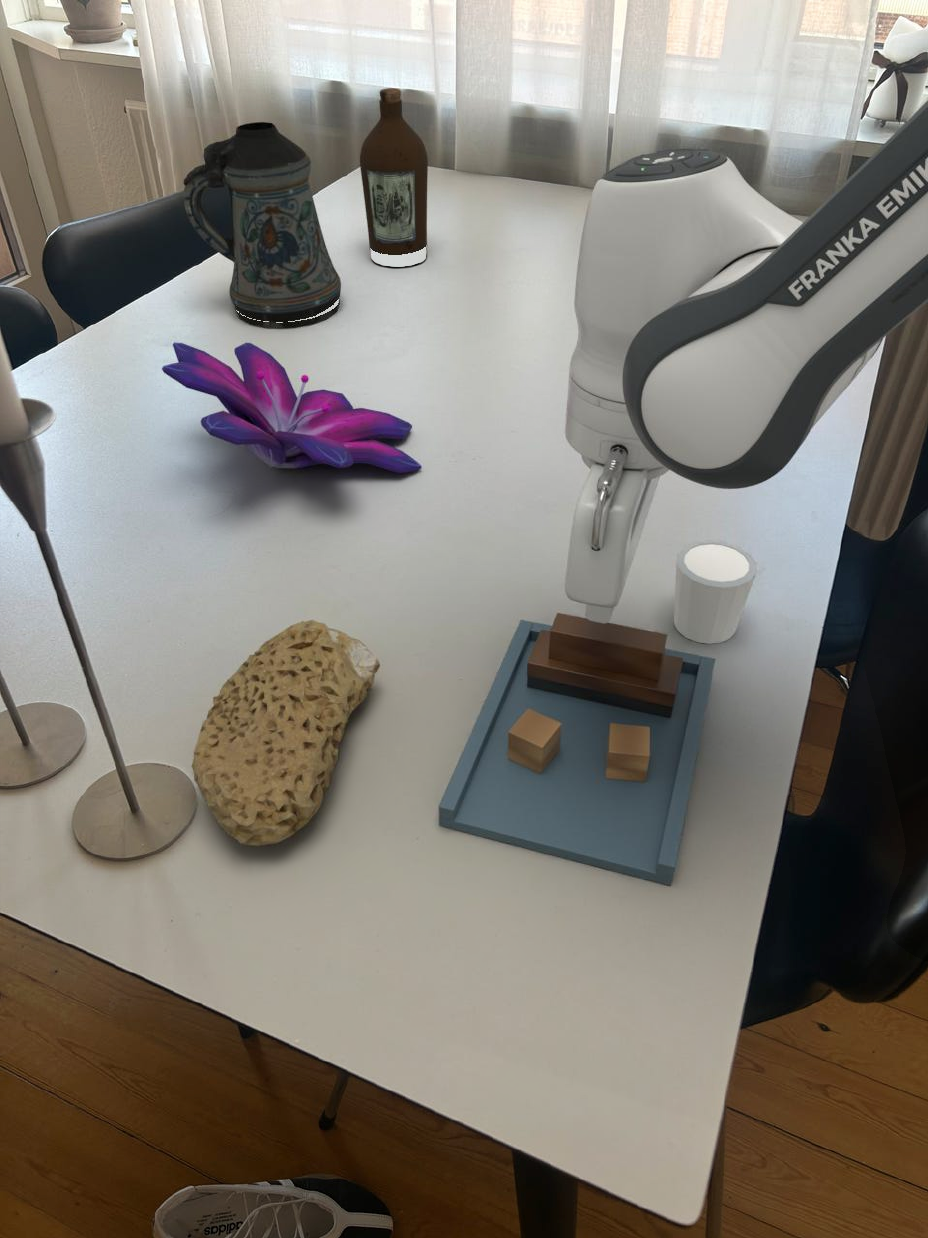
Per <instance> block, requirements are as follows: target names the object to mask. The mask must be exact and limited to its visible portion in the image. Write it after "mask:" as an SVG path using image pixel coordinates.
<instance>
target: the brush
mask: <svg viewBox="0 0 928 1238" xmlns="http://www.w3.org/2000/svg"><path fill="white" fill-rule="evenodd" d="M551 626H552V627H551V629H550V631H547V630H542V629H541V631H540V633H539V635H538V638H537V640H536V643H535V645H534V648H533V650H532V652H531V655H530V657H529V660H528V662H527V687H529V688H534V689H538V690H543V691H547V692H552V693H557V694H561V695H566V696H570V697H575V698H579V699H584V700H589V701H593V702H598V703H602V704H607V705H611V706H616V707H621V708H625V709H630V710H634V711H639V712H643V713H648V714H653V715H657V716H662V717H666V718H671V716H672V712H673V707H674V703H675V699H676V694H677V690H678V685H679V680H680V675H681V670H682V664H683V658H680V657H675V656H671V655H666V654H665V649H667V642H668V634H667V633H663V632H659V631H653V630H647V629H642V628H638V627H632V626H628V625H623V624H617V623H612V622H608V623H605V624H603V623H599V622H594V621H590V620H588V619H587V618H586V617H582V616H578V615H572V614H566V613H561V612H557V613H556V615H555V617H554V620H553V622H552V624H551Z"/></svg>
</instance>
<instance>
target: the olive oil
mask: <svg viewBox="0 0 928 1238" xmlns="http://www.w3.org/2000/svg"><path fill="white" fill-rule="evenodd" d="M379 97H380V100H379V114H380V117H379V119H378V122H376V124H375V125H374V127H373V128H372V129H371V130H370V132H369V133H368V135H367V136H366V137H365V139H364V140H363V142H362V144H361V147H360V148H361V150H360V152H359V153H360V154H359V167H360V168H359V169H360V176H361V183H362V184H361V185H362V191H363V192H362V193H363V199H364V200H363V201H364V207H365V217H366V225H367V234H368V244H369V249H370V248H371V249H372V250H373V251H375V252H378V253H380V254H381V253H382V254H388V255H402V254H408V253H413V252H416V251H419V250H421V249H423V248H424V247H426V245H427V246H428V177H429V176H428V171H429V169H428V168H429V160H428V153H427V149H426V146H425V143H424V141H423V139H422V138H421V136H419V134H418V133H417V132H416V131H415V130H414V129H413V128H412V127H411V126H410V124H408V123H407V121H406V120H405V118H404V117H403V100H402V99H401V97H402V93H401V89H399V88H392V87H390V88H382V89H381V90H379Z"/></svg>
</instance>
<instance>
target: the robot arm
mask: <svg viewBox="0 0 928 1238" xmlns="http://www.w3.org/2000/svg"><path fill="white" fill-rule="evenodd" d="M927 303H928V96H927V97H926V98H925V100H924V101H923V102H922V103H921V104H920V106H919V107H917V109H916V110H915V111H914V112H913V113H912V115H911V116H910V117H909V118H908V119H907V120H906V121H905V122H904V123H903V124H902V125H901V126H900V127H899V128H898V129H897V130H896V131H895V133H894V134H892V136H890V138H888V139H887V140H886V142H884V143H883V144H882V145H881V146H880V147H879V148H878V149H877V150H876V151H875V152H874V153H873V154H872V155H870V157H869V158H868V159H867V160H866V161H865V162H864V163H863V164H862V165H861V166H860V167H859V168H858V169H857V170H856V171H854V173H853V174H851V176H849V177H848V178H847V179H846V180H845V181H844V182H843V183H842V184H841V185H840V186H839V187H838V188H837V189H836V190H835V191H834V192H833V193H832V194H831V195H830V196H829V197H828V198H827V199H826V200H824V202H823V203H822V204H821V205H820V206H819V207H818V208H817V209H816V210H814V211H813V212H812V214H811V215H810V216H808V217H807V218H806V219H805V220H804V221H802V220H799V219H798V218H795V217H794V216H792V215H790V214H789V213H788V212H786V211H784V210H782V209H780V207H777V206H776V205H774V204H773V203H772V202H770V201H769V200H768V199H766V198H765V197H764V196H762V195H761V194H760V193H759V192H757V191H756V189H754V188H753V187H752V186H751V185H750V184H749V183H748V182H747V181H746V180H745V179H744V177H743V175H742V174H741V173H740V171H739V170H738V168H737V166H736V165H735V163H734V162H733V161H732V160H731V159H730V158H729V157H728V156H727V155H725V154H722V153H719V152H716V151H712V150H709V149H706V148H697V147H695V148H694V147H687V148H686V147H684V148H683V147H682V148H674V149H665V150H656V151H655V152H651V153H646V154H644V153H642V154H640V155H636V156H635V157H632V158H630V159H627V160H625V161H623V162H621V163H618V165H616V166H614V167H613V168H611V169H609V170H607V171H606V172H605V173H604V174H603V175H602V177H601V178H600V179H598V180H597V182H596V183H595V185H594V187H593V190H592V192H591V194H590V198H589V201H588V205H587V208H586V212H585V217H584V222H583V227H582V232H581V237H580V245H579V253H578V260H577V267H576V276H575V288H574V301H573V306H574V314H575V318H576V322H577V341H576V345H575V348H574V350H573V352H572V354H571V358H570V362H569V367H568V385H567V396H566V408H565V409H566V410H565V420H564V421H565V423H564V437H565V439H566V441H567V443H568V445H569V446H570V447H571V448H572V449H573V450H574V451H575V452H577V453H578V454H579V455H580V456H581V460H582V462H583V463H584V464H585V465H586V467H587V468H588V469H589V472H588V474H587V476H586V479H585V480H584V483H583V485H582V487H581V490H580V492H579V495H578V497H577V502H576V505H575V509H574V513H573V518H572V522H571V523H572V524H571V528H570V529H571V530H570V537H569V545H568V551H567V552H568V553H567V560H566V569H565V577H564V592H565V594H566V597H567V599H568V600H570V601H573V602H576V603H579V604H584V605H586V606H585V618H587V619H588V620H590V621H594V622H599V623H603V624H605V623H610V621H611V618H612V616H613V612H614V608H615V607H617V606H618V605H619V603H620V601H621V597H622V594H623V591H624V588H625V586H626V582H627V579H628V576H629V573H630V570H631V567H632V563H633V561H634V557H635V554H636V551H637V549H638V545H639V542H640V539H641V536H642V532H643V530H644V527H645V524H646V520H647V518H648V515H649V512H650V509H651V506H652V502H653V499H654V496H655V493H656V490H657V487H658V484H659V481H660V478H661V476H664V475H665V474H667V473H668V472H669V471H671V472H673V473H674V474H676V475H678V476H679V477H682V478H683V479H685V480H688V481H691V482H694V483H696V484H699V485H702V486H704V487H709V488H714V489H722V490H737V489H738V490H739V489H745V488H750V487H753V486H757V485H759V484H762V483H764V482H766V481H768V480H770V479H771V478H773V477H775V476H777V474H779V473H780V472H781V471H782V470H783V469H784V468H785V467H786V466H787V465H788V464H789V463H790V461H791V460H792V459H793V458H794V456H795V455H796V453H797V452H798V451H799V449H800V448H801V446H802V445H803V444H804V442H805V441H806V439H807V437H808V436H809V435H810V433H811V430H812V429H813V428H814V427H815V426H816V425H817V423H818V422H819V421H820V420H821V418H822V417H823V416H824V415H825V414H826V413H827V411H828V410H829V409H830V408H831V407H832V406H833V405H834V403H835V402H836V401H837V400H838V398H840V396H841V395H842V394H843V393H844V392H845V390H846V389H847V388H848V387H849V386H850V385H851V383H852V382H853V381H854V380H855V379H856V378H857V376H858V375H859V374H860V373H861V371H862V370H863V369H864V368H865V366H866V365H867V364H868V363H869V361H870V360H871V359H872V358H873V357H874V355H875V354H876V353H877V351H878V349H879V348H880V346H881V344H882V343H883V341H884V338H886V337H887V336H888V335H889V334H890V333H892V332H893V331H894V330H895V329H896V328H898V326H900V325H901V324H902V323H904V322H905V321H906V320H907V319H909V318H910V317H911V316H912V315H913V314H915V313H916V312H917V311H918V310H919V309H920V308H922V307H923V306H924V305H925V304H927Z"/></svg>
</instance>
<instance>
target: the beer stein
mask: <svg viewBox="0 0 928 1238" xmlns="http://www.w3.org/2000/svg"><path fill="white" fill-rule="evenodd" d="M202 156H203V161H204V164H201V165H198V166H196V167H194V168H193V169H192V170H190V171H189V172H188V173H187V174H186V176H185V178H184V179H183V185H184V188H183V197H182V198H183V204H184V205H183V206H184V209H185V212H186V215H187V218H188V220H189V221H190V224H191V225H192V227H193V229H194V230H195V231H196V233H197V234H198V235H199V236H200V237H201V239H202V240H203V241H204V242H205V243H207V244H208V245H209V246H210V247H211V248H212V249H213V250H215V251H216V252H217V253H218V254H220V255H222V256H223V257H224V258H226V259H228V260H229V261H231V262H232V263H233V270H232V275H231V280H230V281H231V282H230V285H229V290H228V291H229V298H230V301H231V303H232V304H233V307H234V310H235V313H236V315H237V317H238V318H239V320H241V321H243V322H244V323H246V324H248V325H250V326H255V327H259V328H264V329H279V330H283V329H295V328H296V329H297V328H301V327H306V326H311V325H312V326H313V325H315V324H318V323H320V322H324V321H326V320H328V319H329V318H331V317H332V316H334V315H335V314H336V313H337V312H338V310H339V307H340V303H341V299H340V300H339V303H338V305H337V306H336V307H335V308H334V309H332V310H331V311H329V312H327V313H325V314H323V315H320V316H318V317H315V318H312V319H307V320H301V321H295V320H300V319H306V318H309V317H313V316H316V315H317V314H319V313H321V312H323V311H325V310H326V309H328V308H329V307H331V306H332V305H334V303H335V302H336V301H337V300H338V299H339V297H340V298H341V292H342V291H341V290H342V281H341V278H340V275H339V274H338V271H336V268H335V266H334V264H333V262H332V261H333V260H332V259H331V257H330V253H329V250H328V248H327V245H326V242H325V238H324V235H323V232H322V228H321V223H320V220H319V215H318V212H317V208H316V204H315V200H314V197H313V192H312V189H311V185H310V175H311V170H312V161H311V158H310V157H309V155H308V154H307V153H306V151H305V150H304V149H302V147H300V146H299V145H298V144H296V143H295V142H293V141H291V140H290V139H289V138H288V137H286V136H284V135H283V134H282V133H280V131H279V130H278V128H277V126H276V125H275V124H274V123H272V122H266V121H259V122H258V121H257V122H249V123H244V124H241V125H238V126H237V127H236V128H235V134H234V135H232V136H231V137H229V138H227V139H225V140H224V139H223V140H221V141H215V142H213V143H210V144H208V145H207V146H206V147H205V148H204V149H203V154H202ZM225 185H226V186H228V190H229V191H228V192H229V197H230V213H231V214H230V215H231V232H232V237H231V238H230V237H227V236H225V234H224V233H223V232H221V231H220V230H219V229H218V228H217V227H216V226H215V225H214V224H213V223H212V222H211V220H210V218H209V217H208V216H207V214H206V213H205V211H204V209H203V206H202V203H201V202H202V200H201V198H202V195H203V193H204V191H205V189H208V188H211V189H217V188H224V187H225ZM236 310H237V311H239V313H238V312H237V311H236ZM240 313H241V314H242V315H245V316H246V317H245V316H242V315H241V314H240ZM247 317H249V318H252V319H249V318H247ZM253 319H256V320H253ZM257 320H261V321H257ZM263 321H269V322H263ZM288 321H295V322H288ZM276 322H283V323H276Z"/></svg>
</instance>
